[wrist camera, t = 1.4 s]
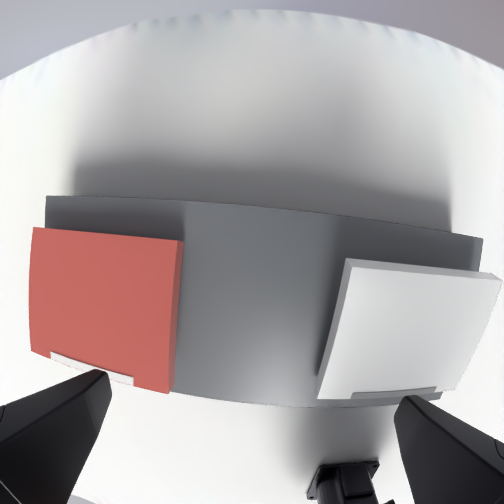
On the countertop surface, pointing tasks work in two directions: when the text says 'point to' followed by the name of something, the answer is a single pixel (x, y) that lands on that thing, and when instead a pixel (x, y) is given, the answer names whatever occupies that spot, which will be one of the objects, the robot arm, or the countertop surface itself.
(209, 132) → the countertop surface
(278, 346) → the switch box
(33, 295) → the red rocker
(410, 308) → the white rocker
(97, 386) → the robot arm
